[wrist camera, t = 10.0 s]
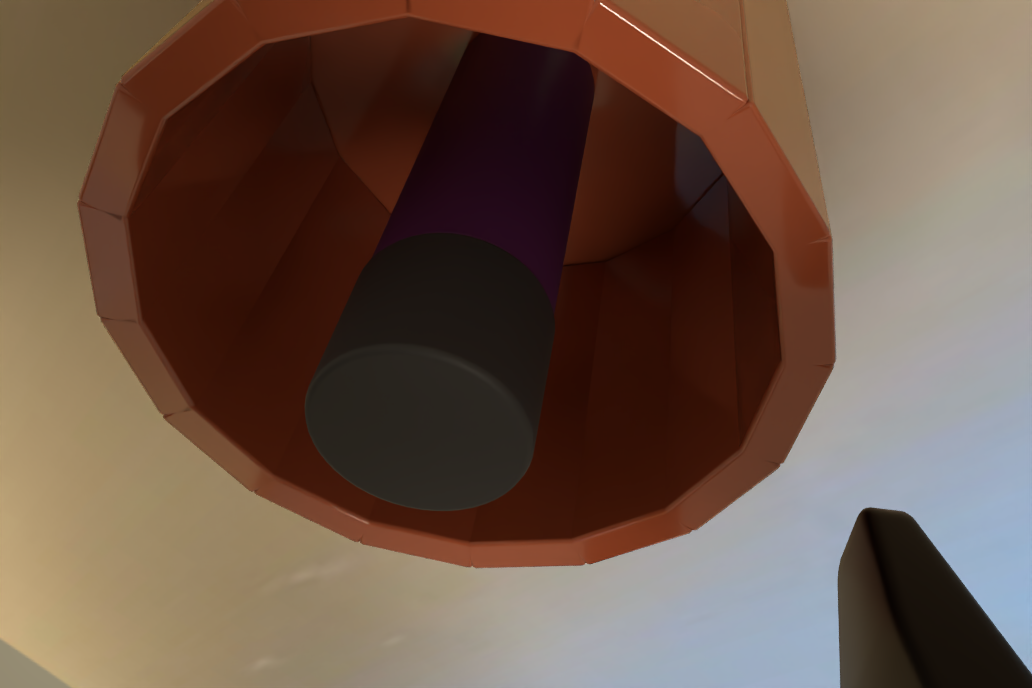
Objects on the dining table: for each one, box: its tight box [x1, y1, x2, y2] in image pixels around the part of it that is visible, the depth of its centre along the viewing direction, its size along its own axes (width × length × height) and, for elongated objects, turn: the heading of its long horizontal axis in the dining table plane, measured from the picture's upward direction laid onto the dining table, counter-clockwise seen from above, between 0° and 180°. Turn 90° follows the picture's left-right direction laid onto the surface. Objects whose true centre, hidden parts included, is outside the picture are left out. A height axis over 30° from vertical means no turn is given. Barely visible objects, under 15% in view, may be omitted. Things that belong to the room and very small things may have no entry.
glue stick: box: [305, 33, 594, 511], centre depth 13 cm, size 2×2×8 cm
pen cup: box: [77, 0, 836, 568], centre depth 14 cm, size 9×9×8 cm
